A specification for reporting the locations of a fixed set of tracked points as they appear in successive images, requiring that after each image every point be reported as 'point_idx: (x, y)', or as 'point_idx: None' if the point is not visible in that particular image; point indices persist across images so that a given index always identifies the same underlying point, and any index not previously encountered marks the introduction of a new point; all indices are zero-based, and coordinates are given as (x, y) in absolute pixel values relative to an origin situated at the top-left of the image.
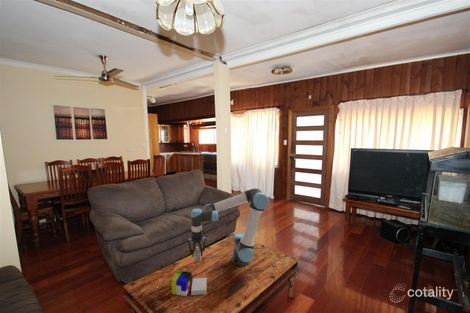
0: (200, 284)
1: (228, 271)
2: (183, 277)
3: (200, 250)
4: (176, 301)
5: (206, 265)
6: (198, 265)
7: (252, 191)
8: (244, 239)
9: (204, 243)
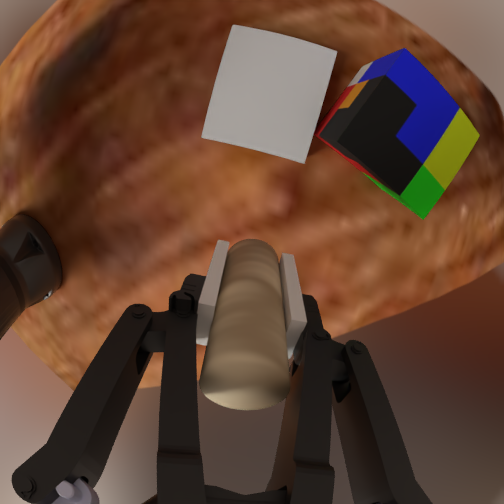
0: (262, 81)
1: (75, 192)
2: (413, 110)
3: (193, 331)
4: None
5: None
6: None
7: None
8: None
9: (71, 417)
